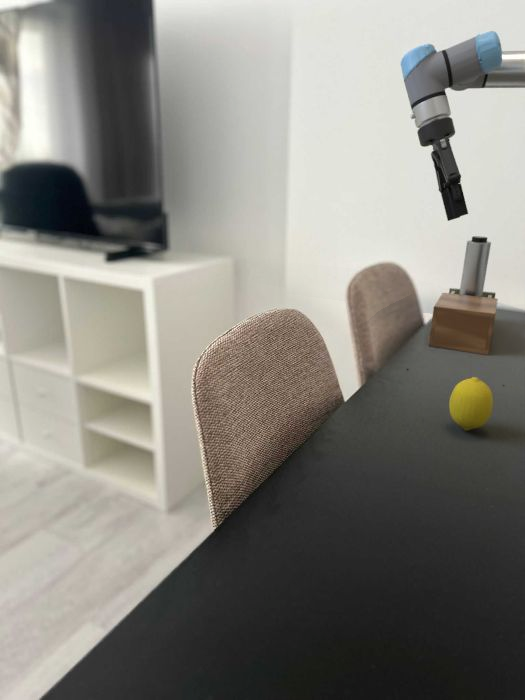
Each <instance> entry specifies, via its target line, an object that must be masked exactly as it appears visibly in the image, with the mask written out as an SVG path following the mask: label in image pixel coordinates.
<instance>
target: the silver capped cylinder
mask: <svg viewBox="0 0 525 700" xmlns="http://www.w3.org/2000/svg"><path fill="white" fill-rule="evenodd" d="M491 246H492V242H491V241H488V237H487V236H479V235H477V236H476V235H475V236H471V239H470V240H467V241H466V247H465V252H464V260H463V267H462V274H461V279H460V287H459V289H460V292H459V294H460V295H469V296H478V297H482V295H483V291H484V288H485V281H486V276H487V270H488V264H489V259H490V252H491Z"/></svg>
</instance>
